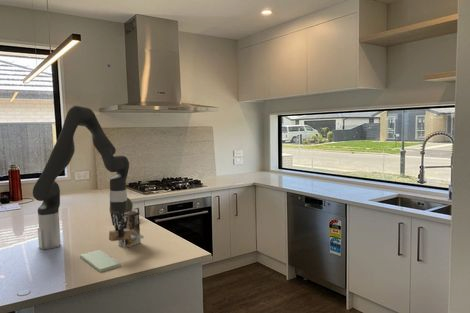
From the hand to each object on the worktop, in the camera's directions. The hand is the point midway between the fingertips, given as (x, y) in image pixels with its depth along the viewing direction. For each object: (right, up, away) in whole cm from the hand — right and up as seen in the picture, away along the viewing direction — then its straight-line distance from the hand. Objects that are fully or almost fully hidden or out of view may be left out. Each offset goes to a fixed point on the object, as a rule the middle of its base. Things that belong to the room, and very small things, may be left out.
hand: (119, 236), depth 161 cm
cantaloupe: (-20, -4, +64) cm, 67 cm away
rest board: (-7, -10, -6) cm, 13 cm away
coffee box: (0, -8, +17) cm, 18 cm away
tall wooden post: (+2, -2, +2) cm, 4 cm away
